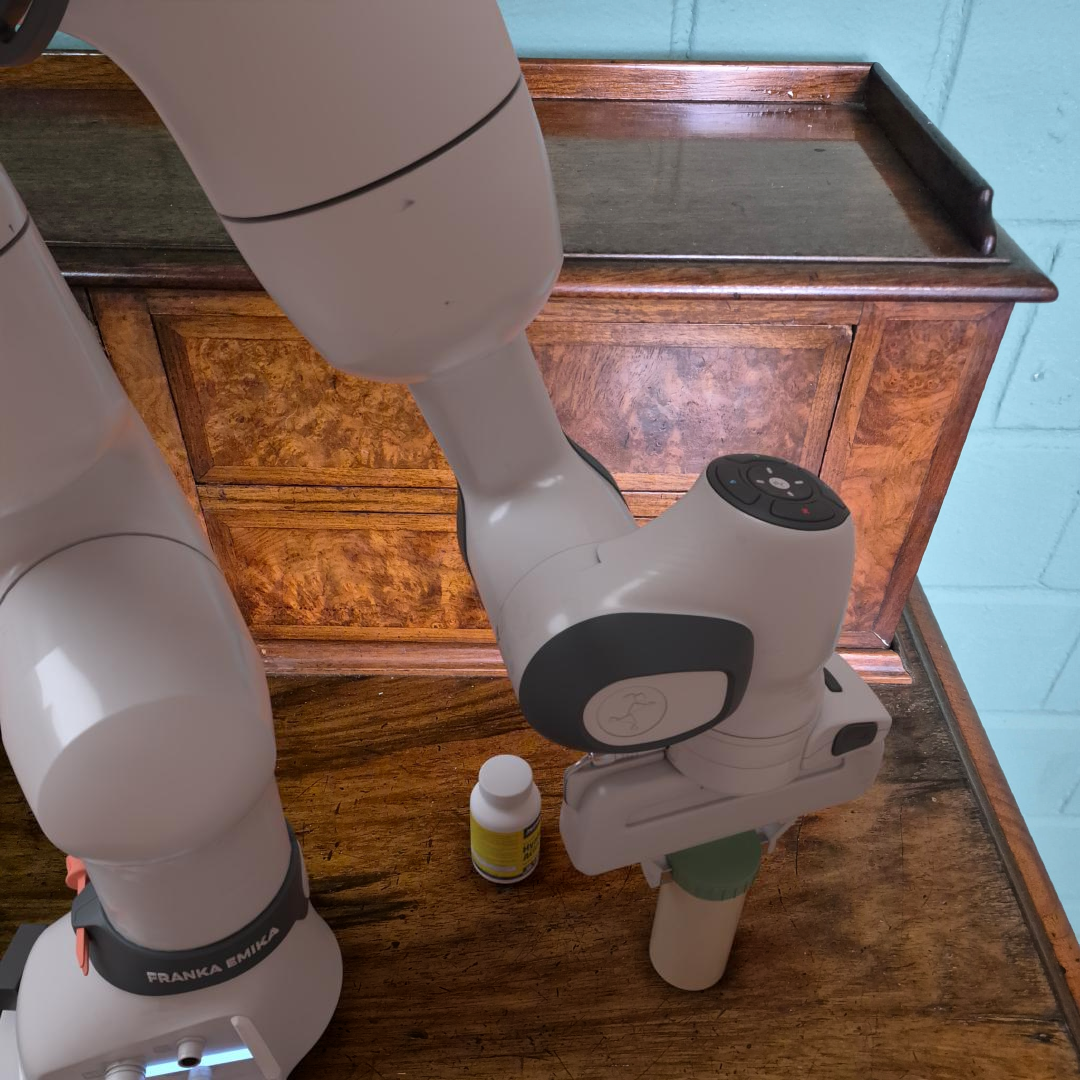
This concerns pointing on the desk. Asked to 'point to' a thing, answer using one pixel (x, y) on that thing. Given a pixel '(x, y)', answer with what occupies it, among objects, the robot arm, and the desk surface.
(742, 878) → the jar lid
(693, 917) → the jar
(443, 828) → the desk surface
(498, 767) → the supplement bottle
